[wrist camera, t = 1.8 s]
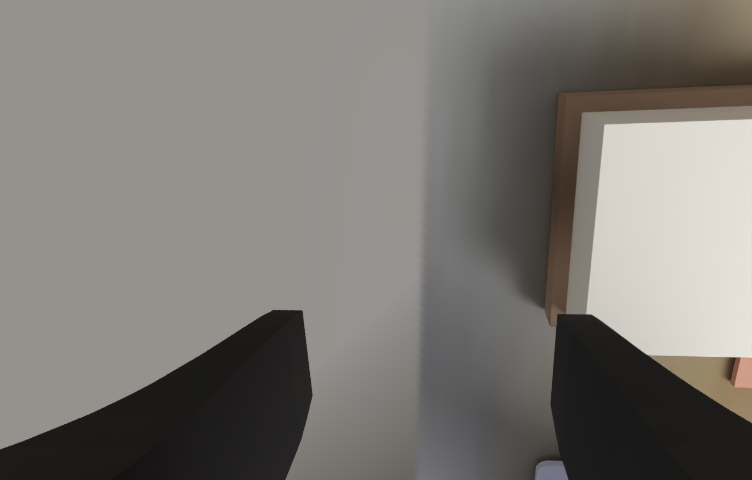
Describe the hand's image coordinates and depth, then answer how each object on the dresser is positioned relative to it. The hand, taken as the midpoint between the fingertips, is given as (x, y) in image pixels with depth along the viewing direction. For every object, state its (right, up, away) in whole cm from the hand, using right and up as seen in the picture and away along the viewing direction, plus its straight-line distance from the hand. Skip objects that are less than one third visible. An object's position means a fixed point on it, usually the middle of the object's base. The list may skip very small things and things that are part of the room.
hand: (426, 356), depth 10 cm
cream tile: (+8, +3, +7) cm, 11 cm away
